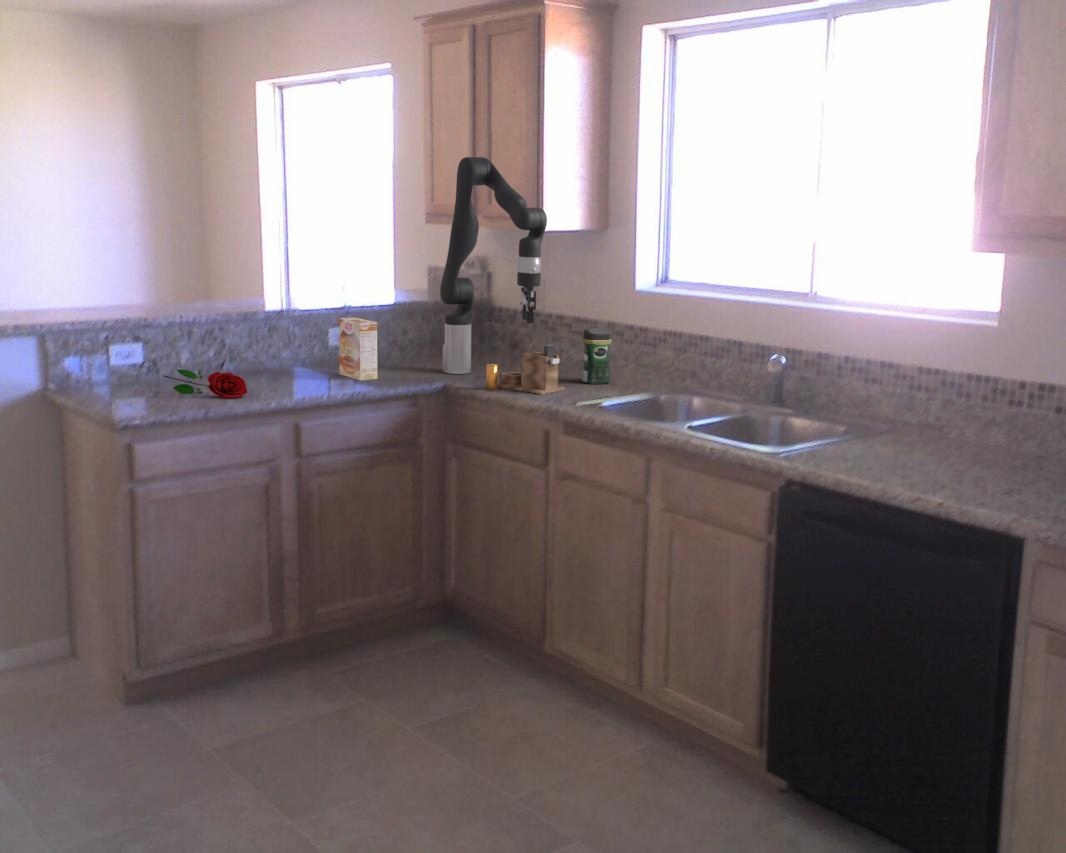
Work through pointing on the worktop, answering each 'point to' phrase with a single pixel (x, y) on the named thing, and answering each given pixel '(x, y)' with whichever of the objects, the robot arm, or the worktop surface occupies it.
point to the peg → (491, 376)
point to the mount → (533, 375)
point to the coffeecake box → (358, 348)
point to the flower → (214, 384)
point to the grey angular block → (550, 354)
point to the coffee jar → (596, 356)
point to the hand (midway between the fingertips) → (527, 321)
